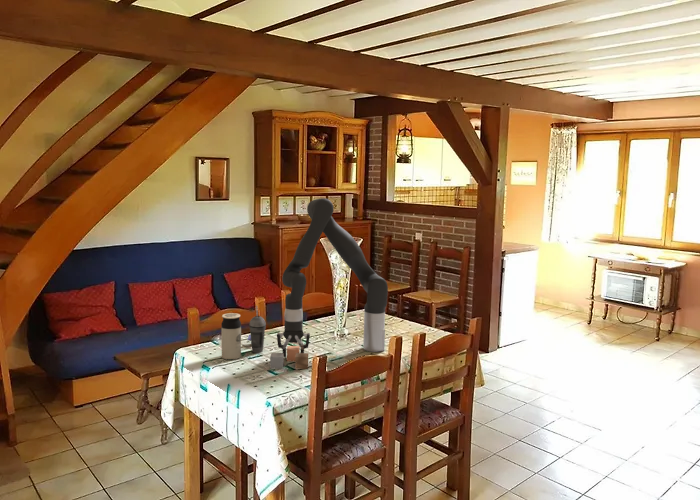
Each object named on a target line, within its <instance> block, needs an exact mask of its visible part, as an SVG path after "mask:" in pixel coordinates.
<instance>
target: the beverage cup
mask: <svg viewBox="0 0 700 500" xmlns="http://www.w3.org/2000/svg"><path fill="white" fill-rule="evenodd" d="M255 311H256V312H255V313H256V316H253V317H252V318H251V319H250V321H249V325H248V327H249V331H250V332H251V334H250V335H251V341H250V345H251V349H252V350H251V351H252V353H253V354H255V353H256V354H259V353H263V351H264V346H265V345H264V343H265V335H266V334H265V332H266V327H267V323H266V320H265V319H264V317H262V316H260V315H258V305H256V308H255Z"/></svg>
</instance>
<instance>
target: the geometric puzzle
mask: <svg viewBox="0 0 700 500" xmlns="http://www.w3.org/2000/svg"><path fill="white" fill-rule="evenodd" d="M246 341H247V342H249V343H250V342H251V332H250V333H249V334H248V336H247V340H246Z"/></svg>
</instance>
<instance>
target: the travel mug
mask: <svg viewBox="0 0 700 500" xmlns="http://www.w3.org/2000/svg"><path fill="white" fill-rule="evenodd" d="M221 315H222V316H221V317H222V322H221V323H220V324H221V325H220V326H221V358H222V359H224V360H227V359H233V360H237V359H239V358H241V357H242V322H241V320H240V318H241V314H240V313H235V312H234V313H233V312H229V313H224V314H221Z"/></svg>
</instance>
